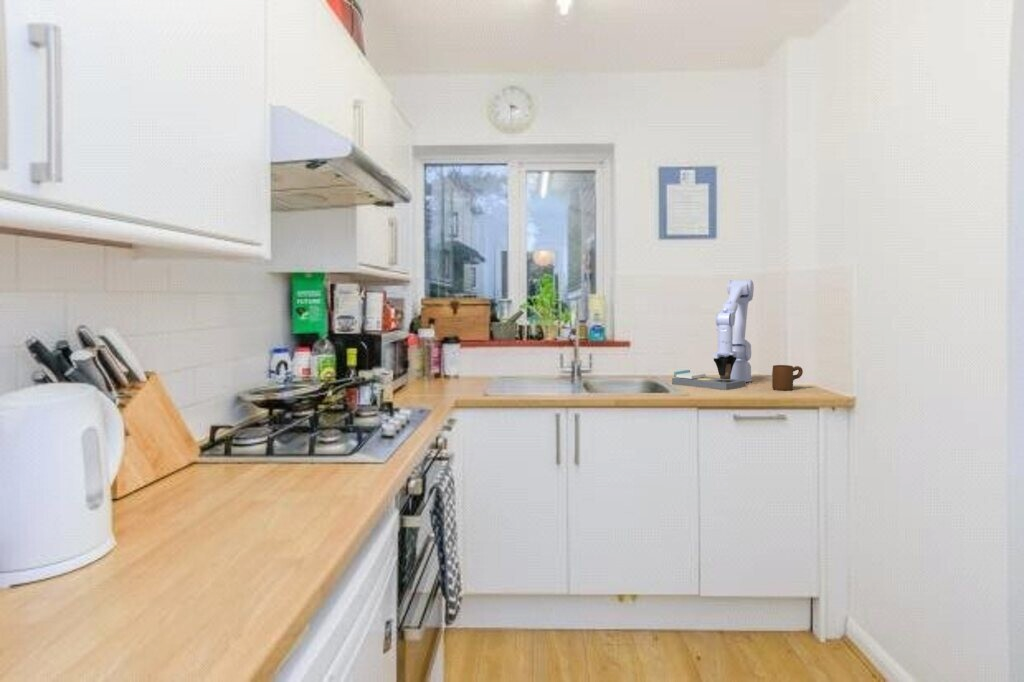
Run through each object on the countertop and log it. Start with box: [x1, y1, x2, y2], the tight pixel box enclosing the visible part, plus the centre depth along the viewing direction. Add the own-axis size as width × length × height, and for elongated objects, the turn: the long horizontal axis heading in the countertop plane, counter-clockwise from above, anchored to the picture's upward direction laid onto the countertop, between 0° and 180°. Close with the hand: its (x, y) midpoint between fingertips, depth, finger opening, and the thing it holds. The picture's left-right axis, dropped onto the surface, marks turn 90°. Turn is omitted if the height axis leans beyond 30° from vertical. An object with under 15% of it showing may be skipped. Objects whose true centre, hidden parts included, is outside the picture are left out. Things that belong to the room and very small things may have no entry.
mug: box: [771, 364, 804, 392], centre depth 252 cm, size 12×8×9 cm, turn 96°
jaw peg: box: [719, 363, 731, 379], centre depth 261 cm, size 4×4×6 cm
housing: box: [671, 376, 746, 391], centre depth 268 cm, size 14×26×3 cm, turn 39°
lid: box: [673, 369, 707, 379], centre depth 275 cm, size 10×9×2 cm
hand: (724, 374), depth 262 cm, fingers closed on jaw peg, 4 cm apart
